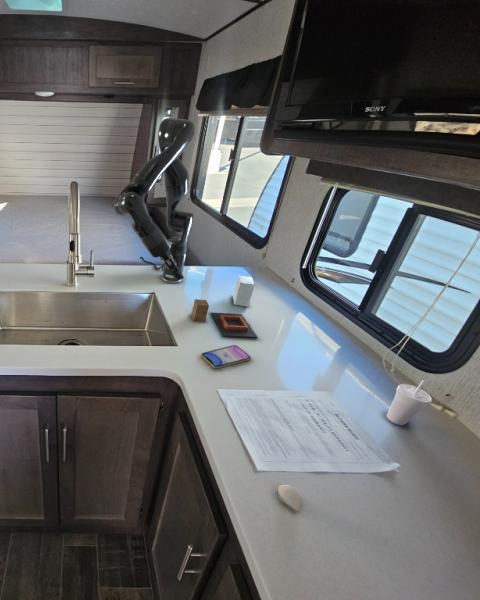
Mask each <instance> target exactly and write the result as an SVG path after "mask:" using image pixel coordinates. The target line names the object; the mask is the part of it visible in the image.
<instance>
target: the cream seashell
mask: <svg viewBox="0 0 480 600" xmlns="http://www.w3.org/2000/svg"><path fill="white" fill-rule="evenodd" d="M276 493H277V496H278V498H279V499H280V500H281V501H282V502H283V503H285V504H286V505H287V506H288V507H290V508H291V509H293V510H295V511H298V512H299V511H300V508H301V505H302V494H301V492H300V491H299V489H297V488H296V487H295V486H293V485H290V484H286V483H285V484H281V485H279V486H278V488H277V490H276Z"/></svg>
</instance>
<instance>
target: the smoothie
mask: <svg viewBox="0 0 480 600" xmlns="http://www.w3.org/2000/svg"><path fill="white" fill-rule="evenodd" d="M426 382H427V381H426V380H425V379H422V380H421V382H419V384H418V386H415V385H412V384H408V383H400V384H399V385H397V387H396V389H395V390H396V392H395V395H394V397H393V399H392V402H391V404H390V407H389V409H388V411H387V414H386V418H387V420H388V421H390V422H391V423H393V424H395V425H397V426H405V425H407V424H408V422H409V421H410V420H412V419H413V418H414V417H415V416H416V415H417V414H418V413H420V411H421V410H422V409H424V408H425V407H426V406H429V405H431V403H432V402H433V397H432V396H431V395H430V394H429V393H428V392H427V391H425V390H423V389H421V388H422V387H423V386H424V385H425V384H426Z"/></svg>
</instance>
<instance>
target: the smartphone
mask: <svg viewBox="0 0 480 600" xmlns="http://www.w3.org/2000/svg"><path fill="white" fill-rule="evenodd" d="M200 355H201V357H202V358H203V360H205V361H206V362H207V363H208V364H209V365H210V366H211V368H213V369H220V368H225V367H229V366H232V365H236V364H240V363H243V362H247V361H251V359H252V357H251V356H250V355H249V354H248V353H247V352H245V351H244V350H243V349H242V348H240V347H239V346H238V345H236V344H234V345H230V346H225V347H222V348H217V349H213V350H209V351H205V352H202V353H201V354H200Z"/></svg>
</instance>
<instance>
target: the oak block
mask: <svg viewBox="0 0 480 600" xmlns="http://www.w3.org/2000/svg"><path fill="white" fill-rule="evenodd" d="M209 308H210V304H209V302H208V300H207V299H200V298H199V299H198V298H195V299H194V300H193V306H192V309H191V313H190V314H191V315H190V316H191V319H192V320H193V322H199V323H206V320H207V315H208V313H209V312H208V311H209Z"/></svg>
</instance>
